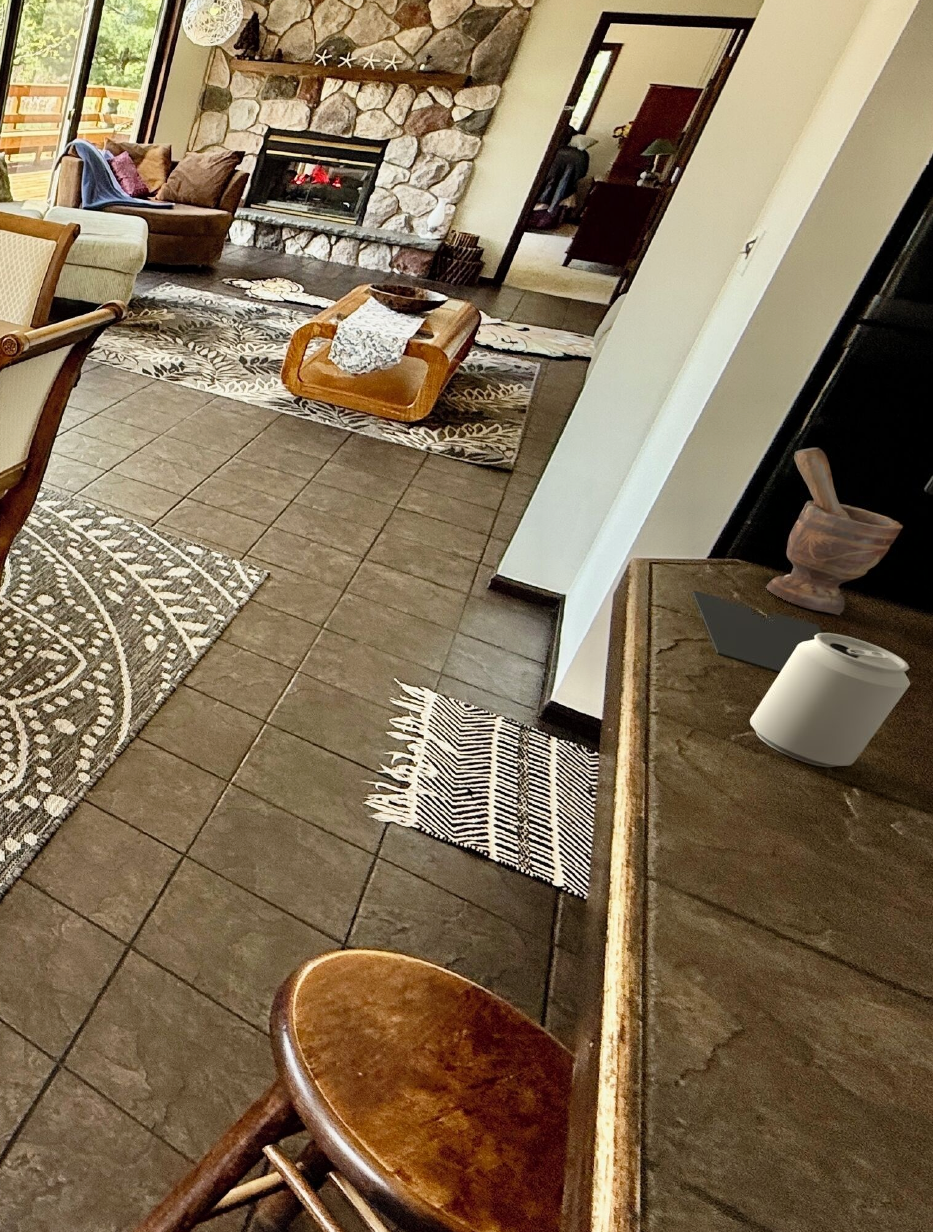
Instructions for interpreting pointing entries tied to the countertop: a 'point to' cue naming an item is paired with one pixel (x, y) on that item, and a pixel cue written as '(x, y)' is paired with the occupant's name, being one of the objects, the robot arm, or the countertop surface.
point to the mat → (752, 632)
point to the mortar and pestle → (829, 541)
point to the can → (830, 699)
